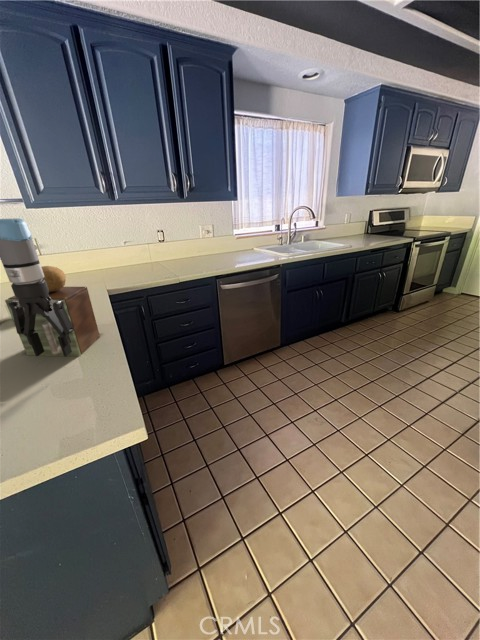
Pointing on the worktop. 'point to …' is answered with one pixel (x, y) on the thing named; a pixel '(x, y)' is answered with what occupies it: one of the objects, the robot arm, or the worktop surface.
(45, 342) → the cupboard door
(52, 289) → the potato
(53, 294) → the cupboard
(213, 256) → the worktop surface
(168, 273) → the worktop surface
